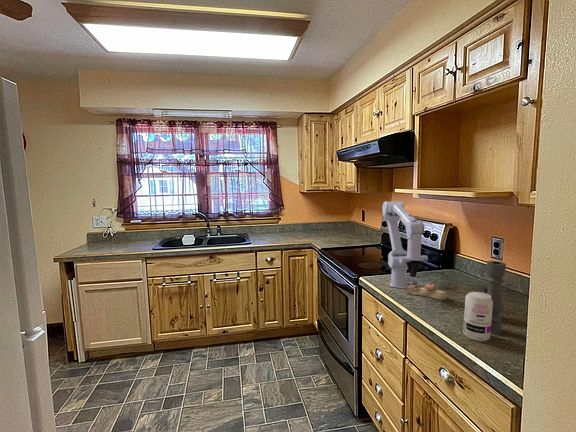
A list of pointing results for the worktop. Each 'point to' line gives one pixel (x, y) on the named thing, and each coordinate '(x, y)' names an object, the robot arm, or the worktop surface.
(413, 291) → the link
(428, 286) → the keeper
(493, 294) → the candle holder
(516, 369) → the worktop surface
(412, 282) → the pintle
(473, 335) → the supplement can
